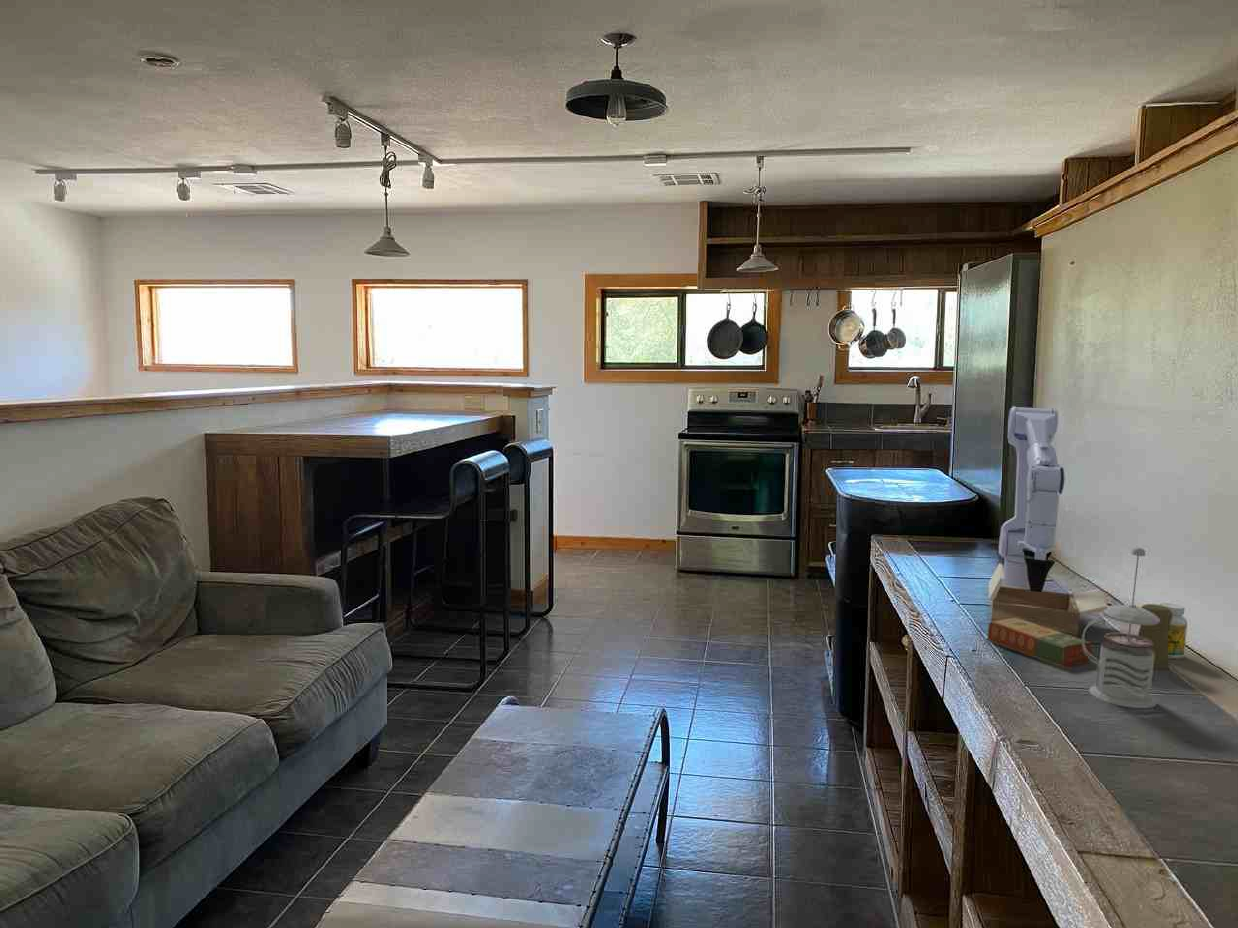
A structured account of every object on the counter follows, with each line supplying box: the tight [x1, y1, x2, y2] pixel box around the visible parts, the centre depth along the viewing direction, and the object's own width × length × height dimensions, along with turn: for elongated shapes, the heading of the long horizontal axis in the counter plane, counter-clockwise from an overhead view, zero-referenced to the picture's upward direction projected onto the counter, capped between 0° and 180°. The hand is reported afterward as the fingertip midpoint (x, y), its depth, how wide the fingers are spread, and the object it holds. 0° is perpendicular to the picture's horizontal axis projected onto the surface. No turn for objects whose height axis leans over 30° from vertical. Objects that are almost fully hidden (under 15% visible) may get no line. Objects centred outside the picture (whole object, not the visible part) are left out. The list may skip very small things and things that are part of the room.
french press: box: [1081, 547, 1160, 709], centre depth 148 cm, size 10×12×25 cm
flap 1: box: [988, 563, 1004, 601], centre depth 192 cm, size 15×5×1 cm
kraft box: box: [989, 585, 1081, 638], centre depth 190 cm, size 16×16×5 cm
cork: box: [1132, 603, 1172, 671], centre depth 165 cm, size 6×6×11 cm
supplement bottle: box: [1159, 602, 1188, 660], centre depth 171 cm, size 5×5×10 cm
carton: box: [987, 618, 1092, 668], centre depth 171 cm, size 8×16×4 cm, turn 29°
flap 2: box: [1073, 588, 1109, 617], centre depth 185 cm, size 15×5×1 cm, turn 158°
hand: (1034, 586), depth 189 cm, fingers open, 7 cm apart
